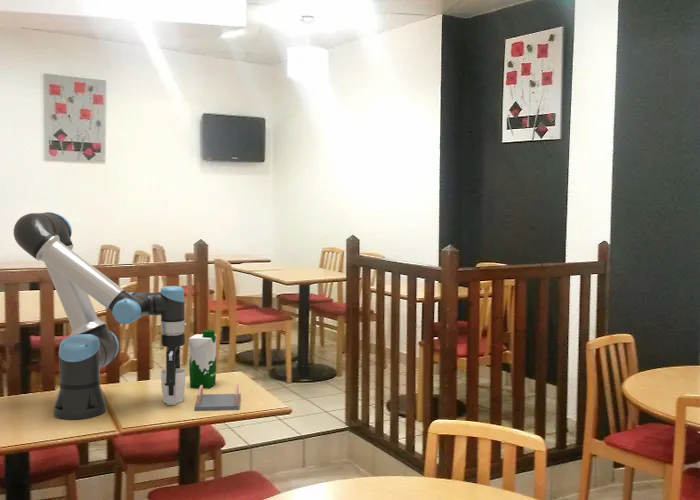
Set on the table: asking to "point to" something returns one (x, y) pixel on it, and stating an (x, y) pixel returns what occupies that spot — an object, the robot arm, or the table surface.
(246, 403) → the table surface
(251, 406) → the table surface
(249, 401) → the table surface
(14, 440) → the table surface
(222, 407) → the end holder
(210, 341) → the milk carton
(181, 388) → the white cup
